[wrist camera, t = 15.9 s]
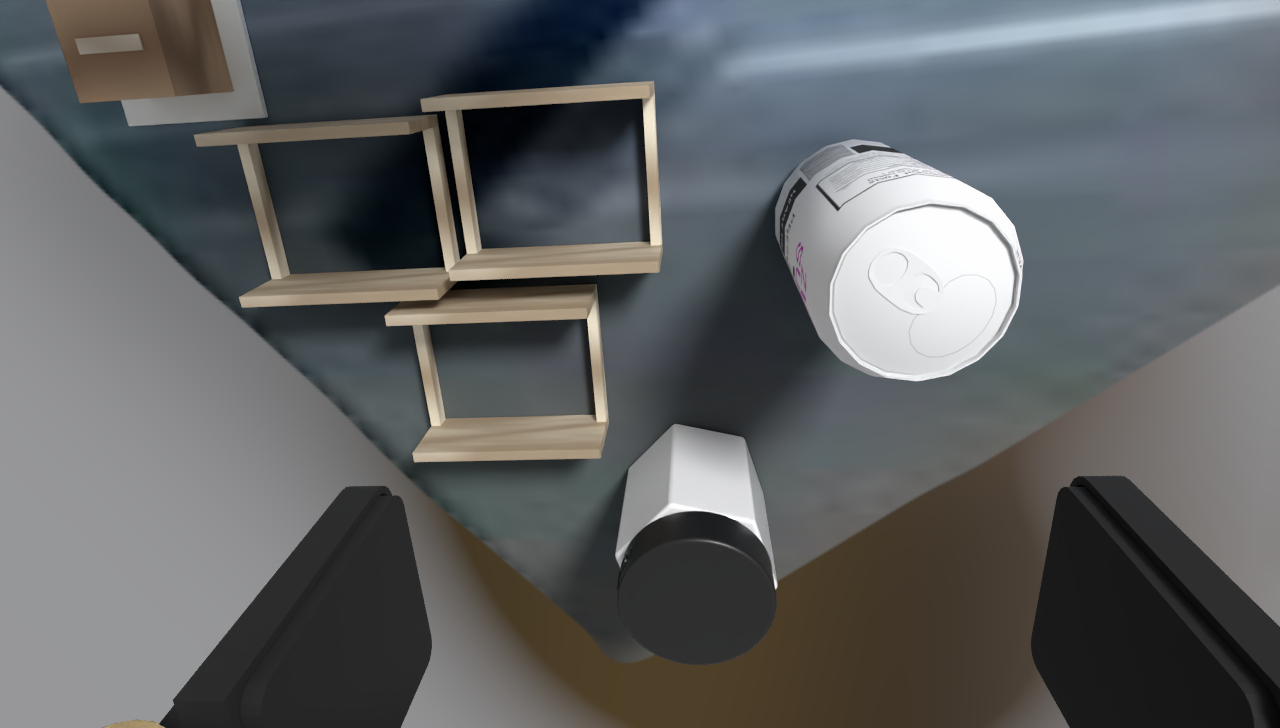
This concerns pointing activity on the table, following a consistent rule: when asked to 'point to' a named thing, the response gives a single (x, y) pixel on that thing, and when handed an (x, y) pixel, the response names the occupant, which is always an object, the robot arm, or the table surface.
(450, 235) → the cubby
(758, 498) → the jar
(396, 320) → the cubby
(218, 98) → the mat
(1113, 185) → the table surface
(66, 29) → the letter cube
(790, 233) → the supplement can
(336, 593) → the robot arm
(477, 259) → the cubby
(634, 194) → the table surface
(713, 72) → the table surface
